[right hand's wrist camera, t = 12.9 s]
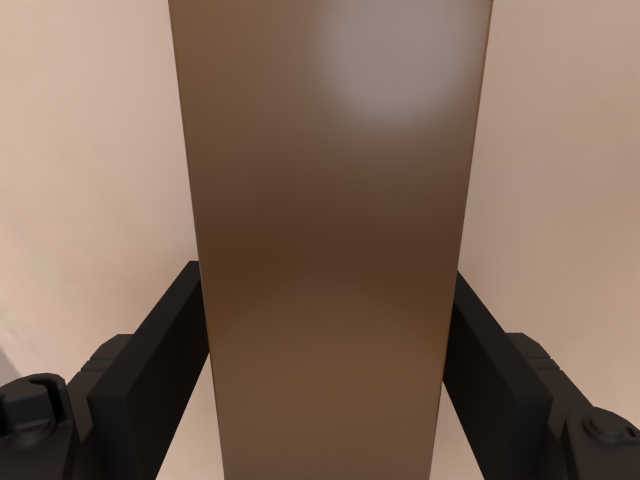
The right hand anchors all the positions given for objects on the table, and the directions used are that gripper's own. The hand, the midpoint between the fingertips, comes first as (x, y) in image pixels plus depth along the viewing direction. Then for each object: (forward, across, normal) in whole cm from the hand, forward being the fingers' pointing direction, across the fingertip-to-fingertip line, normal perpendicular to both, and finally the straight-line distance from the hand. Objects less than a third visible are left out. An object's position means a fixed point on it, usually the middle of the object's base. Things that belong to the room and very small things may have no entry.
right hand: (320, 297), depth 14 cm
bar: (+2, 0, -32) cm, 32 cm away
